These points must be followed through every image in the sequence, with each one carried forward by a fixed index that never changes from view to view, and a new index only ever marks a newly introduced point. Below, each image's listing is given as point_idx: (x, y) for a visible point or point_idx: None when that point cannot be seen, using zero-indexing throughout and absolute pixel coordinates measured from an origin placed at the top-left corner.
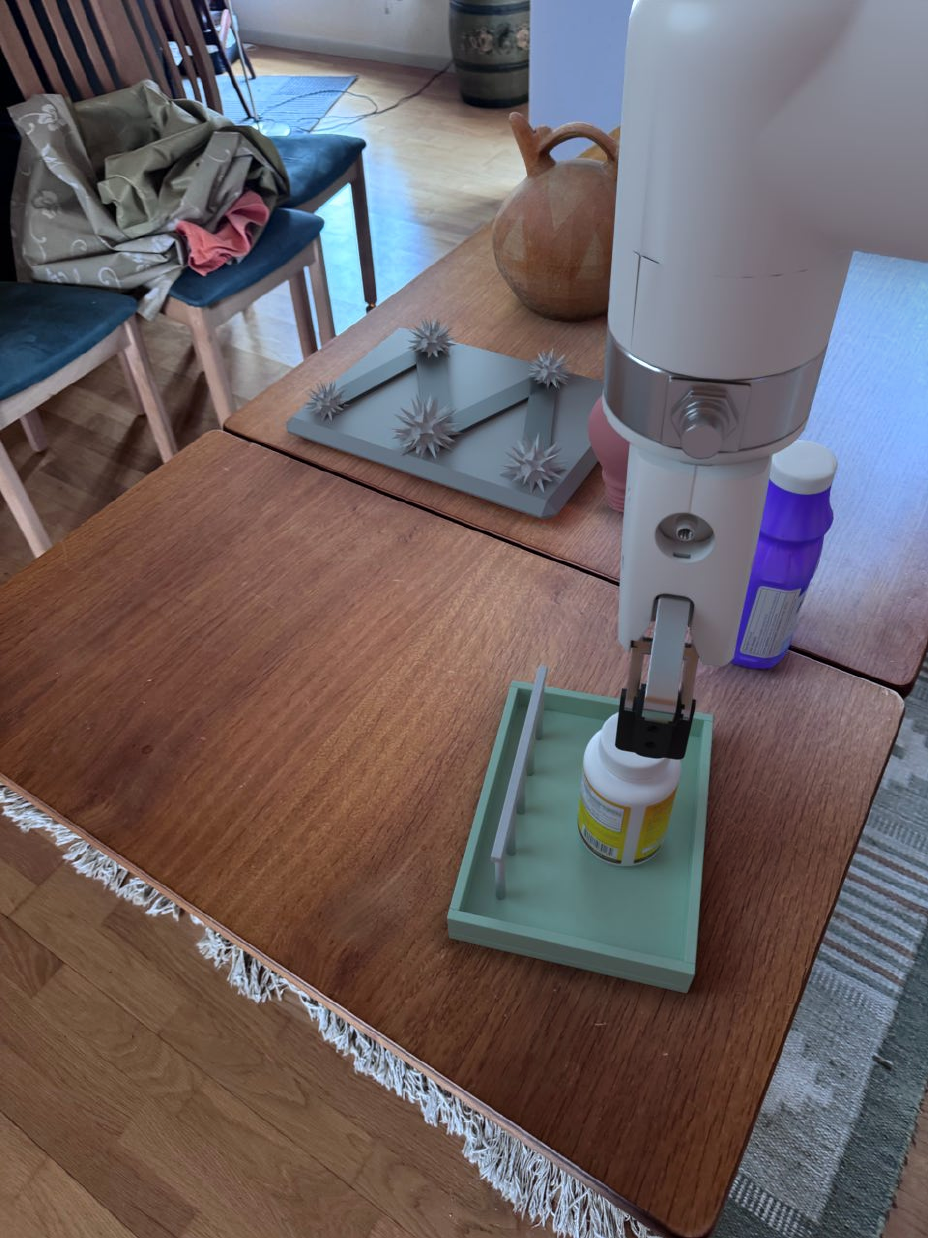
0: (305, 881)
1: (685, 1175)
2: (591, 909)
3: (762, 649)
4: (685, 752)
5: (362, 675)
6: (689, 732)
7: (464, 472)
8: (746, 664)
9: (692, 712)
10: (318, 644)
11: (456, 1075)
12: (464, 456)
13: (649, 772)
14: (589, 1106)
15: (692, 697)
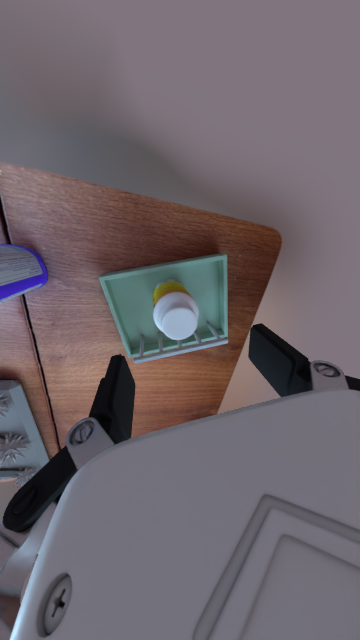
0: (216, 367)
1: (272, 239)
2: (203, 294)
3: (33, 261)
4: (265, 326)
5: (144, 390)
6: (281, 339)
7: (21, 421)
8: (44, 265)
9: (303, 356)
10: (139, 406)
11: (256, 311)
12: (10, 426)
13: (193, 311)
14: (258, 274)
15: (346, 382)
